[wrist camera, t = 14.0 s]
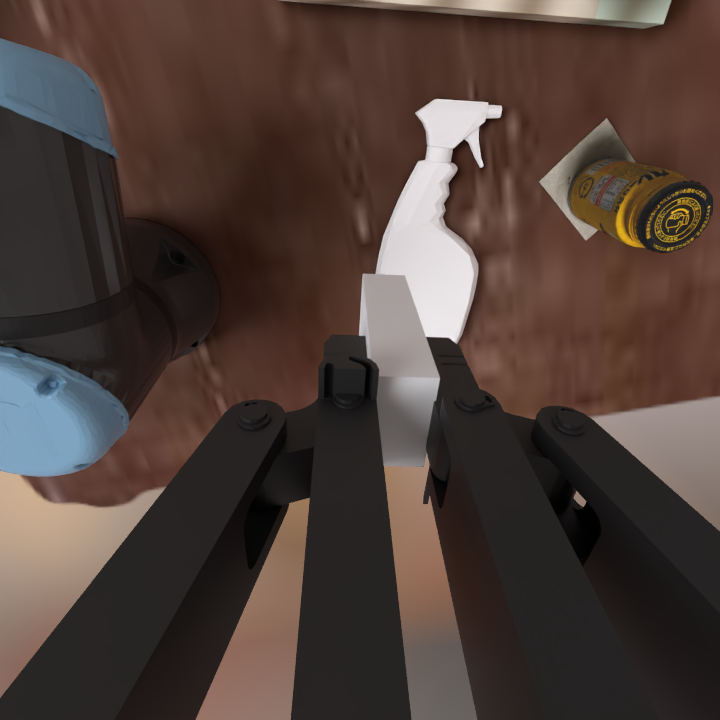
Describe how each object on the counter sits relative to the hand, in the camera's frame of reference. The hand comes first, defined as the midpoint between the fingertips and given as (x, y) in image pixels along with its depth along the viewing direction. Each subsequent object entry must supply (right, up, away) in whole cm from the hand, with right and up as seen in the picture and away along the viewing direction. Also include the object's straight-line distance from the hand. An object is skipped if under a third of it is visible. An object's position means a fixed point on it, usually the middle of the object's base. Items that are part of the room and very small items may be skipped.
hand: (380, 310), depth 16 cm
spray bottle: (+7, +11, +29) cm, 32 cm away
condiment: (+22, +15, +26) cm, 38 cm away
